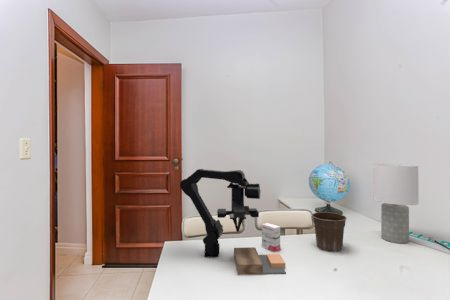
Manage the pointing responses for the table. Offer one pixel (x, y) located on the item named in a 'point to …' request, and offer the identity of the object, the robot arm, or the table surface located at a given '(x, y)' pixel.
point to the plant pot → (329, 230)
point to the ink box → (271, 237)
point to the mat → (268, 269)
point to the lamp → (395, 198)
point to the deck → (247, 261)
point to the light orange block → (275, 261)
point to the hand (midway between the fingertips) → (237, 231)
